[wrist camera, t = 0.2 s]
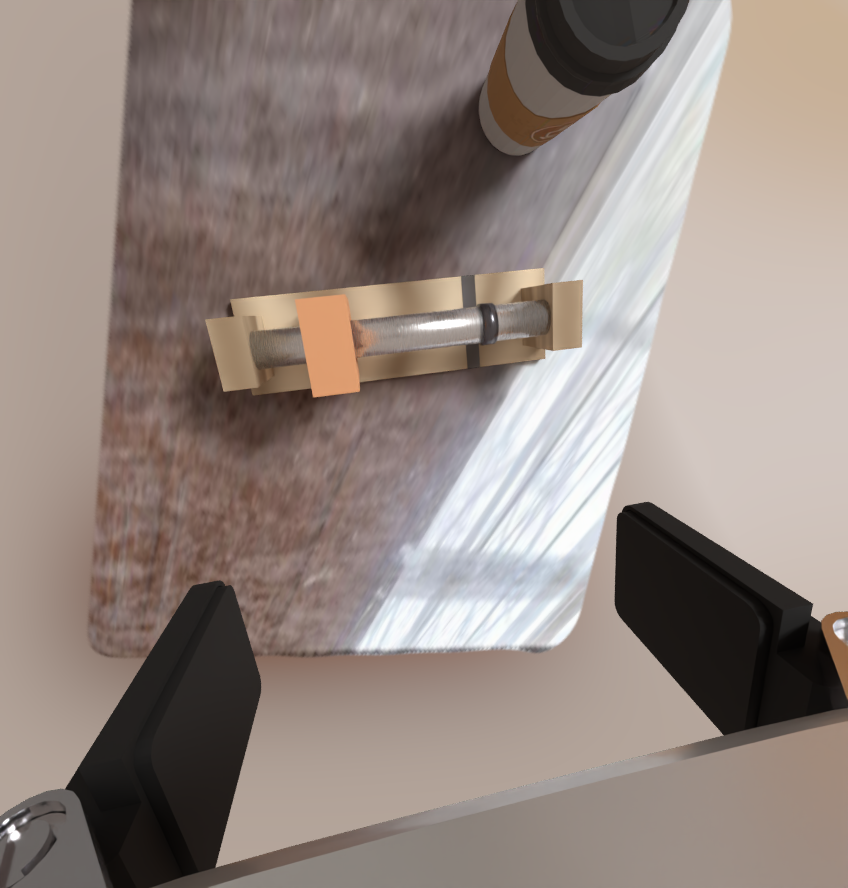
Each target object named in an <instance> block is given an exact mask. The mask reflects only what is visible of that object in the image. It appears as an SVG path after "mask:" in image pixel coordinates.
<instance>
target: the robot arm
mask: <svg viewBox="0 0 848 888" xmlns="http://www.w3.org/2000/svg"><path fill="white" fill-rule="evenodd" d="M615 607H616V610H617V613H618V614H619V616H620V617H621V619H622V620H623V621H624V622H625V623H626V625H627V626H628V627H629V628H630V629H631V630H632V631H633V633H634V634H635V635H636V636H637V637H638V638H639V639H640V640H641V642H642V643H643V644H644V645H645V646H646V647H647V648H648V649H649V651H650V652H651V653H652V654H653V655H654V656H655V658H657V660H658V661H659V662H660V663H661V664H662V666H663V667H664V668H665V669H666V670H667V671H668V672H669V673H670V675H671V676H672V677H673V678H674V679H675V680H676V681H677V683H678V684H679V685H680V686H681V687H682V688H683V689H684V691H686V693H687V694H688V695H689V696H690V697H691V699H692V700H693V701H694V702H695V703H696V704H697V705H698V706H699V708H700V709H701V710H702V711H703V712H704V713H705V714H706V716H707V717H708V718H709V719H710V720H711V721H712V722H713V724H714V725H715V726H716V727H717V728H718V729H719V730H720V731H721V733H722V734H723V735H724V736H720V737H716V738H712V739H708V740H704V741H700V742H696V743H692V744H688V745H684V746H680V747H676V748H672V749H668V750H664V751H660V752H656V753H652V754H648V755H644V756H640V757H636V758H632V759H628V760H623V761H620V762H616V763H612V764H608V765H604V766H600V767H596V768H593V769H588V770H584V771H580V772H576V773H572V774H568V775H565V776H561V777H557V778H553V779H549V780H545V781H541V782H537V783H533V784H529V785H526V786H521V787H518V788H514V789H510V790H506V791H502V792H498V793H494V794H490V795H487V796H482V797H478V798H475V799H471V800H467V801H463V802H459V803H455V804H451V805H447V806H443V807H440V808H436V809H433V810H428V811H424V812H421V813H417V814H413V815H409V816H405V817H401V818H398V819H394V820H390V821H386V822H382V823H379V824H375V825H371V826H367V827H364V828H360V829H356V830H352V831H349V832H344V833H341V834H337V835H333V836H329V837H325V838H322V839H318V840H314V841H310V842H307V843H302V844H299V845H295V846H291V847H288V848H284V849H280V850H277V851H273V852H270V853H266V854H263V855H259V856H256V857H252V858H248V859H245V860H242V861H238V862H234V863H231V864H227V865H224V866H220V867H217V868H215V867H216V863H217V859H218V855H219V851H220V847H221V843H222V840H223V836H224V832H225V828H226V824H227V821H228V817H229V813H230V809H231V805H232V802H233V798H234V794H235V790H236V786H237V782H238V779H239V775H240V771H241V767H242V763H243V759H244V756H245V752H246V748H247V744H248V740H249V736H250V733H251V729H252V725H253V721H254V717H255V713H256V710H257V706H258V702H259V698H260V694H261V679H260V675H259V672H258V668H257V665H256V661H255V658H254V655H253V651H252V648H251V645H250V641H249V638H248V635H247V631H246V628H245V625H244V622H243V618H242V615H241V612H240V608H239V605H238V602H237V598H236V595H235V592H234V589H233V587H232V586H230V585H228V586H225V584H224V583H223V582H222V581H220V580H219V581H214V582H209V583H203V584H198V585H194V586H192V587H191V588H190V590H189V591H188V593H187V595H186V596H185V598H184V599H183V601H182V603H181V604H180V606H179V607H178V609H177V611H176V612H175V614H174V615H173V617H172V619H171V620H170V622H169V623H168V625H167V627H166V628H165V630H164V631H163V633H162V635H161V636H160V638H159V639H158V641H157V643H156V644H155V646H154V647H153V649H152V651H151V652H150V654H149V655H148V657H147V659H146V660H145V662H144V663H143V665H142V667H141V668H140V670H139V671H138V673H137V675H136V676H135V678H134V679H133V681H132V683H131V684H130V686H129V687H128V689H127V691H126V692H125V694H124V695H123V697H122V699H121V700H120V702H119V703H118V705H117V707H116V708H115V710H114V711H113V713H112V715H111V716H110V718H109V719H108V721H107V723H106V724H105V726H104V727H103V729H102V731H101V732H100V734H99V736H98V737H97V738H96V740H95V742H94V743H93V745H92V746H91V748H90V750H89V751H88V753H87V754H86V756H85V758H84V759H83V761H82V762H81V764H80V766H79V767H78V769H77V771H76V772H75V774H74V776H73V777H72V779H71V781H70V782H69V784H68V785H67V787H66V789H57V790H51V791H46V792H43V793H41V794H38V795H36V796H33V797H31V798H29V799H27V800H25V801H23V802H21V803H20V804H18V805H16V806H15V807H13V808H11V809H10V810H8V811H7V812H5V813H4V814H3V815H1V816H0V888H848V611H845V612H834V613H831V614H828V615H826V616H825V617H824V618H823V619H822V620H821V622H820V621H818V620H816V619H815V618H813V617H812V616H811V611H812V607H813V604H812V603H811V602H809V601H808V600H806V599H804V598H803V597H801V596H800V595H798V594H796V593H795V592H793V591H792V590H790V589H788V588H787V587H785V586H784V585H782V584H780V583H779V582H777V581H776V580H774V579H772V578H771V577H769V576H767V575H766V574H764V573H763V572H761V571H759V570H758V569H756V568H755V567H753V566H752V565H750V564H748V563H747V562H745V561H744V560H742V559H740V558H739V557H737V556H736V555H734V554H732V553H731V552H729V551H728V550H726V549H724V548H723V547H721V546H720V545H718V544H716V543H715V542H713V541H712V540H710V539H708V538H707V537H705V536H704V535H702V534H700V533H699V532H697V531H696V530H694V529H692V528H691V527H689V526H688V525H686V524H684V523H683V522H681V521H680V520H678V519H676V518H675V517H673V516H672V515H670V514H668V513H667V512H665V511H664V510H662V509H660V508H658V507H657V506H655V505H654V504H652V503H650V502H644V503H639V504H633V505H628V506H625V507H624V508H623V510H622V513H619V514H618V516H617V535H616V570H615Z"/></svg>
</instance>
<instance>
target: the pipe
mask: <svg viewBox="0 0 848 888" xmlns="http://www.w3.org/2000/svg"><path fill="white" fill-rule="evenodd" d="M350 323H351V329H352V336H353V342H354V349H355V356H356V358H360V357H369V356H377V355H385V354H394V353H402V352H410V351H419V350H427V349H435V348H444V347H452V346H461V345H469V344H477V343H479V344H480V345H481V346H482V345H490V344H495V343H496V341H502V340H511V339H519V338H527V337H536V336H544V335H546V334H547V333H548V332H549V329H550V325H551V311H550V307H549V304H548V302H547V301H546V300H544V299H543V300H534V301H524V302H515V303H506V304H497V305H494V304H493V303H492V302H491V303H481V304H478V305H477V306H476V307H469V308H460V309H451V310H442V311H433V312H424V313H415V314H405V315H396V316H387V317H378V318H369V319H360V320H351V321H350ZM249 343H250V350H251V354H252V358H253V361H254V363H255V365H256V367H257V368H258V369H259V370H260V369H268V368H277V367H285V366H293V365H302V364H307V362H306V356H305V351H304V346H303V340H302V335H301V330H300V326H296V327H287V328H277V329H268V330H259V331H251V332H250V335H249Z"/></svg>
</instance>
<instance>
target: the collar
mask: <svg viewBox="0 0 848 888" xmlns="http://www.w3.org/2000/svg"><path fill="white" fill-rule="evenodd" d="M295 303H296V309H297V314H298V319H299V325H300V330H301V335H302V340H303V346H304V351H305V356H306V362H307V367H308V372H309V378H310V383H311V388H312V394H313V397H321V396H329V395H336V394H344V393H352V392H360V378H359V367H358V361H357V358H356V356H355V349H354V342H353V336H352V329H351V323H350V321H351V314H350V308H349V301H348V298H347V297H346V295H345V294H342V295H333V296H323V297H313V298H303V299H295Z"/></svg>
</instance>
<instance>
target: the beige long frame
mask: <svg viewBox="0 0 848 888" xmlns="http://www.w3.org/2000/svg"><path fill="white" fill-rule="evenodd" d="M342 294H345V295H346V297H347V298H348V301H349V308H350V314H351V320H360V319H369V318H378V317H387V316H396V315H405V314H415V313H424V312H433V311H442V310H451V309H460V308H469V307H476V306H477V305H478V304H481V303H491V302H492V303H493V304H494V305H497V304H506V303H515V302H524V301H534V300H543V299H544V300H546V301H547V302H548V304H549V307H550V311H551V325H550V329H549V332H548V333H547V334H546V335H544V336H536V337H527V338H519V339H511V340H502V341H496V343H495V344H490V345H482V346H481V345H480V344H479V343H477V344H469V345H461V346H452V347H444V348H435V349H427V350H419V351H410V352H402V353H394V354H385V355H377V356H369V357H360V358H357V361H358V367H359V378H360V382H365V381H373V380H381V379H388V378H396V377H404V376H412V375H420V374H428V373H436V372H444V371H452V370H460V369H468V368H476V367H484V366H491V365H499V364H507V363H515V362H523V361H531V360H539V359H545V349H546V350H551V351H555V350H563V349H572V348H580V347H582V296H583V280H578V281H568V282H559V283H551V284H545V285H544V268H540V269H530V270H520V271H510V272H500V273H490V274H480V275H470V276H460V277H450V278H440V279H430V280H420V281H410V282H401V283H391V284H381V285H371V286H361V287H351V288H341V289H331V290H321V291H311V292H301V293H291V294H281V295H271V296H261V297H251V298H241V299H231V300H230V301H231V305H232V310H233V314H234V317H225V318H216V319H206V324H207V328H208V332H209V336H210V340H211V344H212V348H213V352H214V356H215V359H216V363H217V367H218V371H219V375H220V379H221V383H222V387H223V391H224V392H225V391H233V390H241V389H250V388H251V391H252V395H253V396H254V395H262V394H270V393H278V392H285V391H293V390H301V389H309V388H311V383H310V378H309V372H308V367H307V364H302V365H293V366H285V367H277V368H268V369H260V370H259V369H258V368H257V367H256V365H255V363H254V361H253V358H252V354H251V350H250V343H249V335H250V332H251V331H259V330H268V329H277V328H287V327H296V326H300V325H299V319H298V314H297V309H296V303H295V299H303V298H313V297H323V296H333V295H342Z"/></svg>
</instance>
